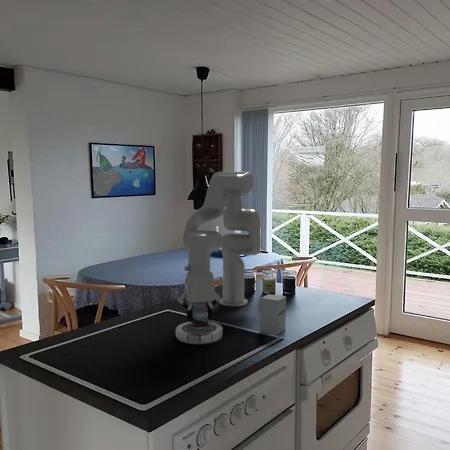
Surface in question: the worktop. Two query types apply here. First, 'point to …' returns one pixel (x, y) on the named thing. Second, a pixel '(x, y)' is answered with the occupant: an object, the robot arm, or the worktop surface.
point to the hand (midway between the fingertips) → (199, 319)
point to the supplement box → (272, 314)
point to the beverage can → (199, 315)
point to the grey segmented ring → (199, 333)
